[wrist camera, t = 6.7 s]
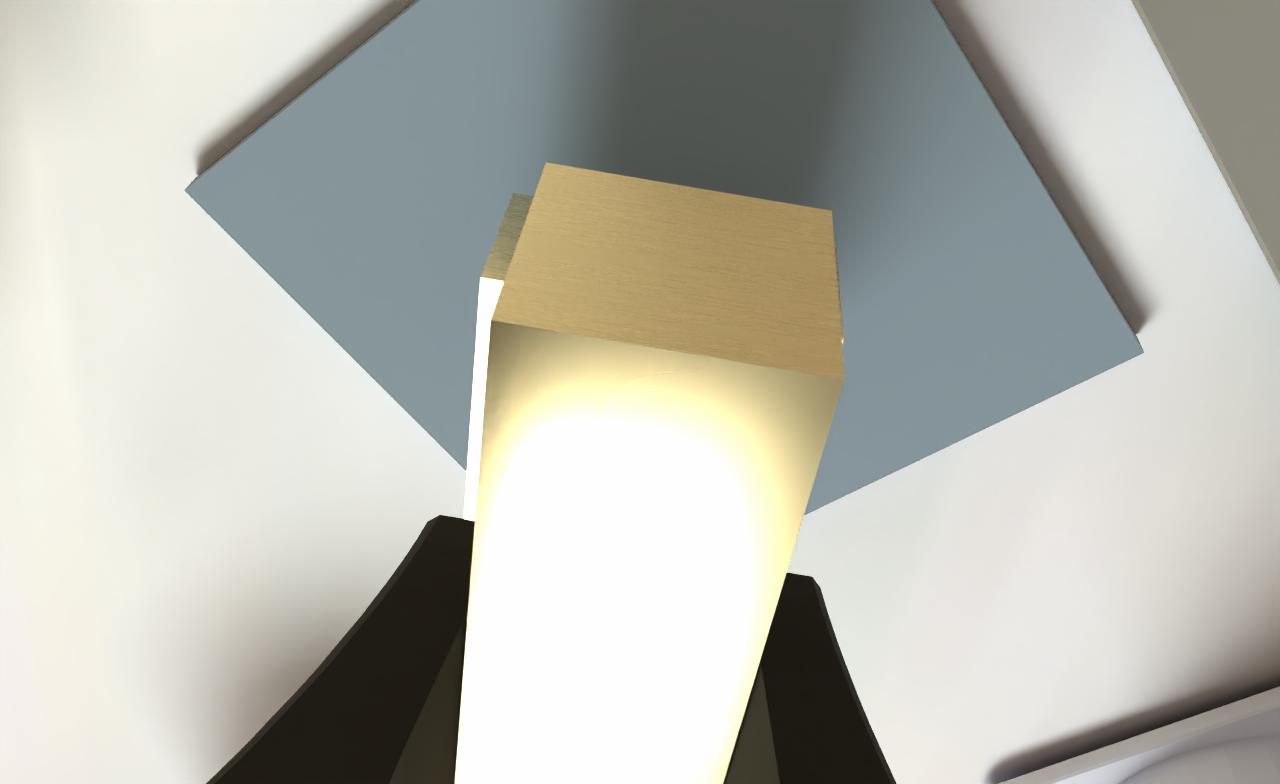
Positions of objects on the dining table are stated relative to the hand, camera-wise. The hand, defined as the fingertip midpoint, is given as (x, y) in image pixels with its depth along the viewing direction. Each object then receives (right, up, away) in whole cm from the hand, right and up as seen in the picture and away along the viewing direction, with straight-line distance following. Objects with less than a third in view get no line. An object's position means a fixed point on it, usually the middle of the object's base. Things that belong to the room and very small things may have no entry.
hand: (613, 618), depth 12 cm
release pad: (+1, +4, +6) cm, 7 cm away
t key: (0, +3, +4) cm, 5 cm away
